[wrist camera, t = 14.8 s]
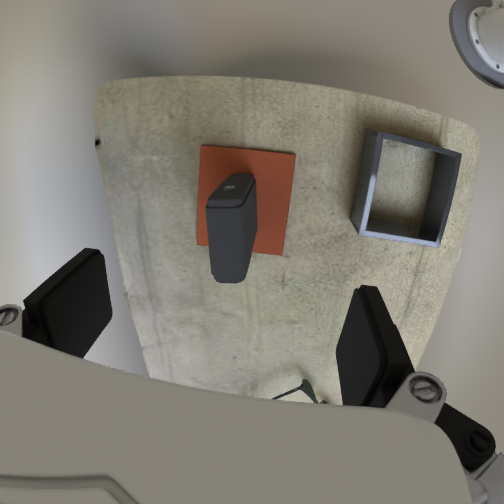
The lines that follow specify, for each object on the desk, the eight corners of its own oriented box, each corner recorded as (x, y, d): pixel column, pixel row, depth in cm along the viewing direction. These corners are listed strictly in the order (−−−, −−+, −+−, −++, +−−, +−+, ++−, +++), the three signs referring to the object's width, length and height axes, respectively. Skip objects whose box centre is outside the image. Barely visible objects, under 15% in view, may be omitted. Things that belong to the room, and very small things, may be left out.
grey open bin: (365, 128, 38) (377, 130, 33) (442, 148, 38) (462, 153, 32) (349, 220, 44) (358, 235, 39) (423, 232, 44) (439, 247, 38)
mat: (202, 145, 42) (201, 145, 41) (295, 154, 41) (295, 155, 40) (198, 242, 48) (196, 244, 47) (282, 253, 48) (282, 255, 47)
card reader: (227, 170, 42) (199, 198, 29) (256, 169, 42) (242, 197, 28) (231, 232, 46) (208, 284, 32) (258, 232, 46) (246, 285, 32)
